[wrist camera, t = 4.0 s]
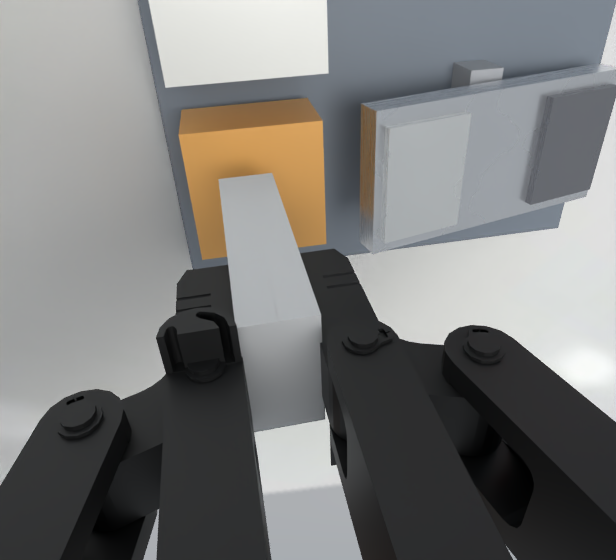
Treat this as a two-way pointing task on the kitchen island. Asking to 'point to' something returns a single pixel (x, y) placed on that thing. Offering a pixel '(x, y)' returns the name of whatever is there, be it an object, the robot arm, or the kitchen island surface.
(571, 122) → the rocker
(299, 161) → the button
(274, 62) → the button
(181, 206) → the panel
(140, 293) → the kitchen island surface
